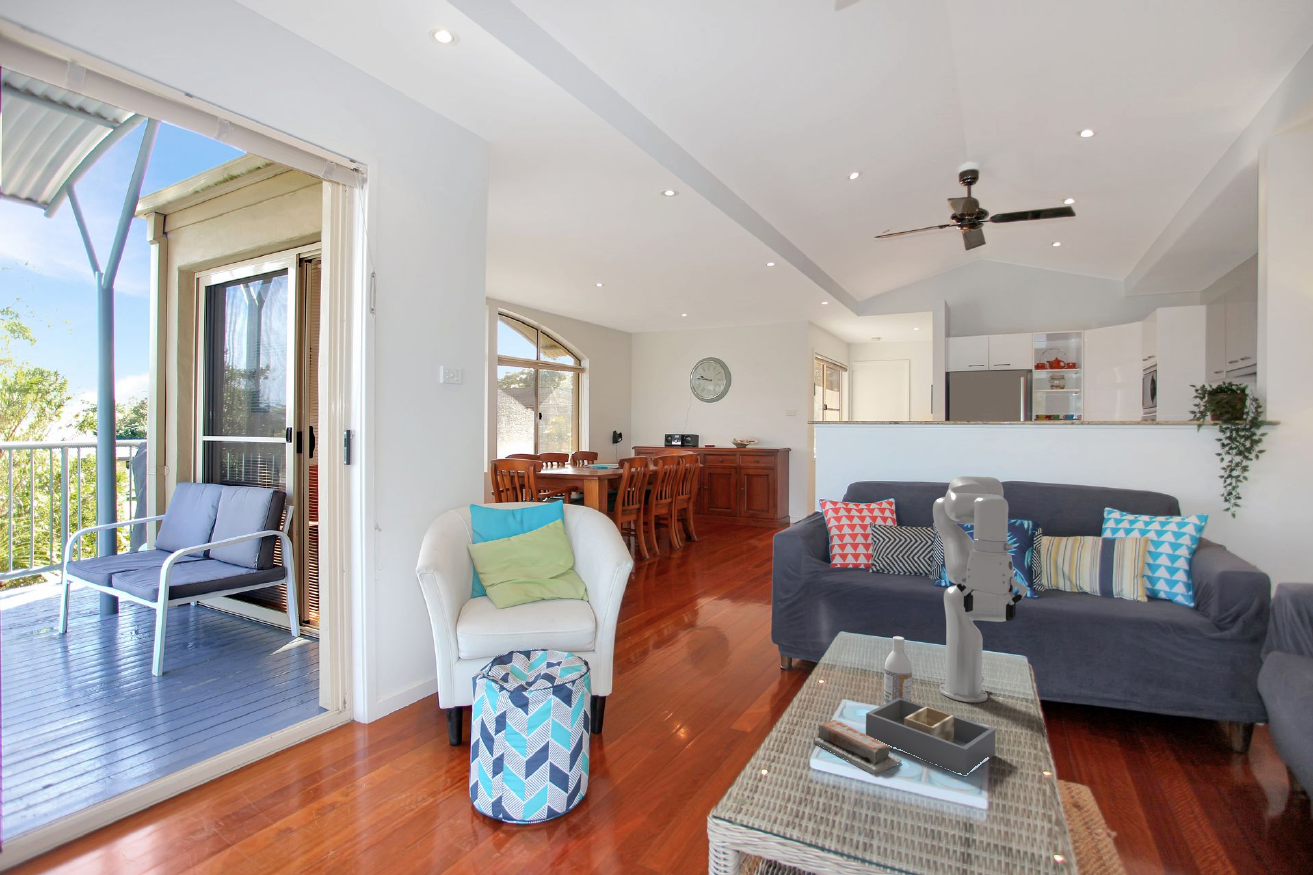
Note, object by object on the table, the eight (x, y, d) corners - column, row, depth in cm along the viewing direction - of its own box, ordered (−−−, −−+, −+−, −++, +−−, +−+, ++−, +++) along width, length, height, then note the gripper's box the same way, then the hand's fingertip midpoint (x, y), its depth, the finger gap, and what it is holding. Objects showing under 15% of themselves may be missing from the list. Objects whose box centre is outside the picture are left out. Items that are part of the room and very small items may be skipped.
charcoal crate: (898, 720, 169) (898, 697, 169) (994, 754, 151) (995, 729, 151) (865, 737, 158) (866, 713, 159) (965, 777, 140) (965, 749, 140)
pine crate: (925, 730, 161) (926, 706, 161) (953, 740, 156) (954, 715, 156) (903, 743, 154) (904, 717, 154) (932, 754, 149) (933, 728, 149)
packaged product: (811, 723, 155) (839, 715, 161) (811, 744, 155) (839, 734, 161) (874, 754, 140) (902, 743, 146) (873, 777, 140) (902, 765, 146)
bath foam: (900, 719, 170) (901, 643, 170) (878, 709, 176) (879, 636, 176) (916, 713, 174) (917, 639, 174) (894, 704, 179) (895, 632, 180)
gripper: (1033, 550, 156) (1032, 620, 156) (961, 540, 169) (960, 606, 169) (1022, 553, 151) (1020, 626, 151) (948, 543, 164) (947, 610, 164)
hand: (988, 615), depth 160 cm, fingers open, 9 cm apart
